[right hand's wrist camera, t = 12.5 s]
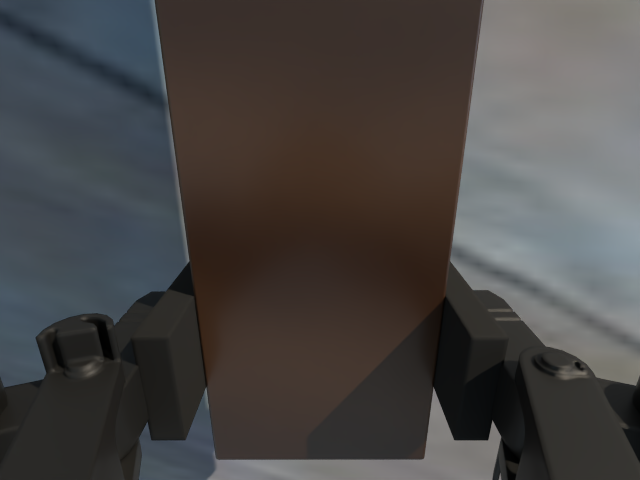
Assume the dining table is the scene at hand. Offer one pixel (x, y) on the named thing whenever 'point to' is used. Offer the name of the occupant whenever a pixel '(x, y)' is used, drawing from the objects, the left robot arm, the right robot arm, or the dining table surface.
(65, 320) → the right robot arm
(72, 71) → the dining table surface
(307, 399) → the plank
